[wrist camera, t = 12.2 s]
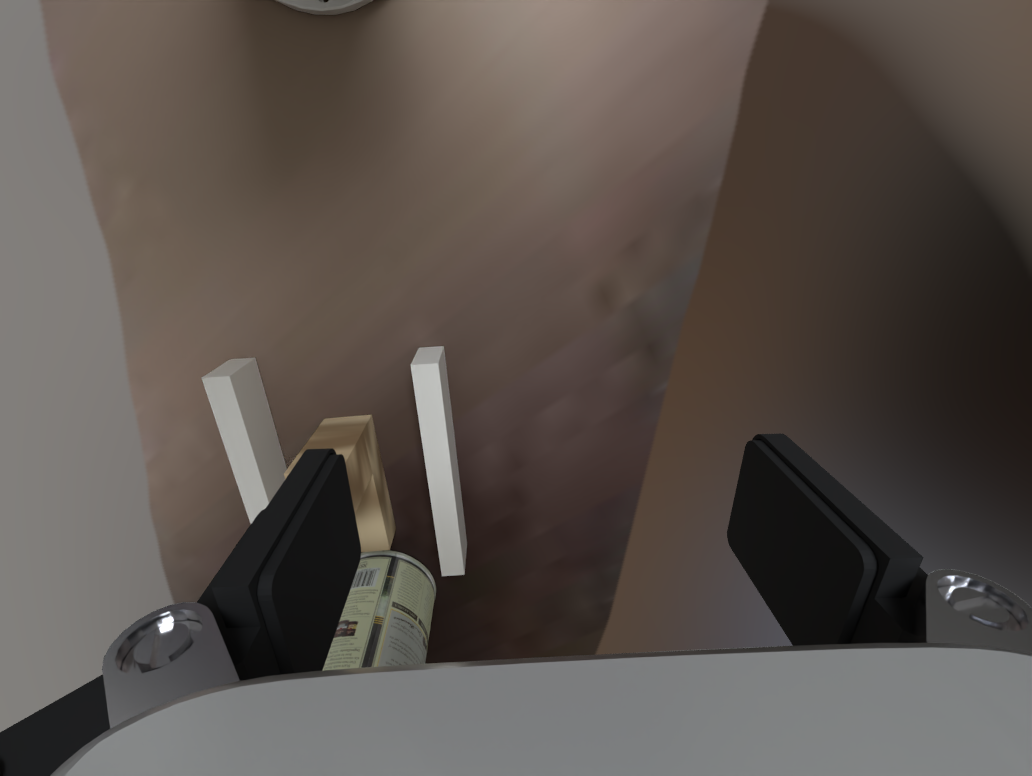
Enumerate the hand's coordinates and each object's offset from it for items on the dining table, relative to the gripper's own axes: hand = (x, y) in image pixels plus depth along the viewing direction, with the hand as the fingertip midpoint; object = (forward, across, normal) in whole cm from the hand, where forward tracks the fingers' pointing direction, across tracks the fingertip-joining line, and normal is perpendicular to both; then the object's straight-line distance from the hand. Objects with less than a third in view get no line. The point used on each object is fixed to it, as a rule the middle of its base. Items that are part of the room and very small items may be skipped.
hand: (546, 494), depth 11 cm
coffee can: (+27, +13, +31) cm, 43 cm away
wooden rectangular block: (+27, +13, +18) cm, 35 cm away
